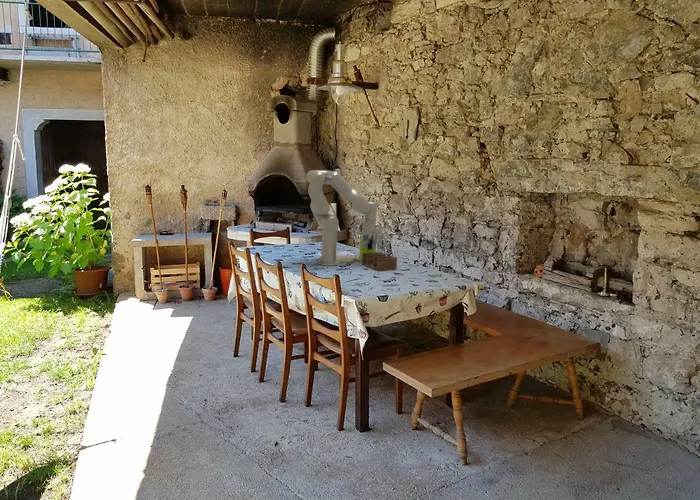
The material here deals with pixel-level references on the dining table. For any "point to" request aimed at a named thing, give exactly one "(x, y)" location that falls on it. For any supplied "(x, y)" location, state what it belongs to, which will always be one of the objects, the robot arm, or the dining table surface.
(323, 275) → the dining table surface
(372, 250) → the box
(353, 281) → the dining table surface
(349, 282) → the dining table surface
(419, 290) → the dining table surface
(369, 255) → the rack
